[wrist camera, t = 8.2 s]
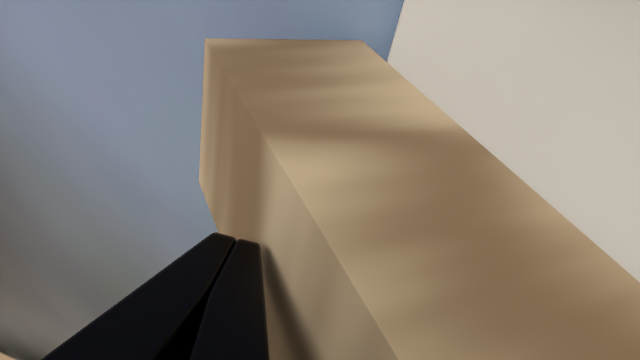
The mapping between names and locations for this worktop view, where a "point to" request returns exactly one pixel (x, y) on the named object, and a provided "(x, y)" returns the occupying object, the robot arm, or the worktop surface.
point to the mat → (542, 98)
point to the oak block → (393, 219)
